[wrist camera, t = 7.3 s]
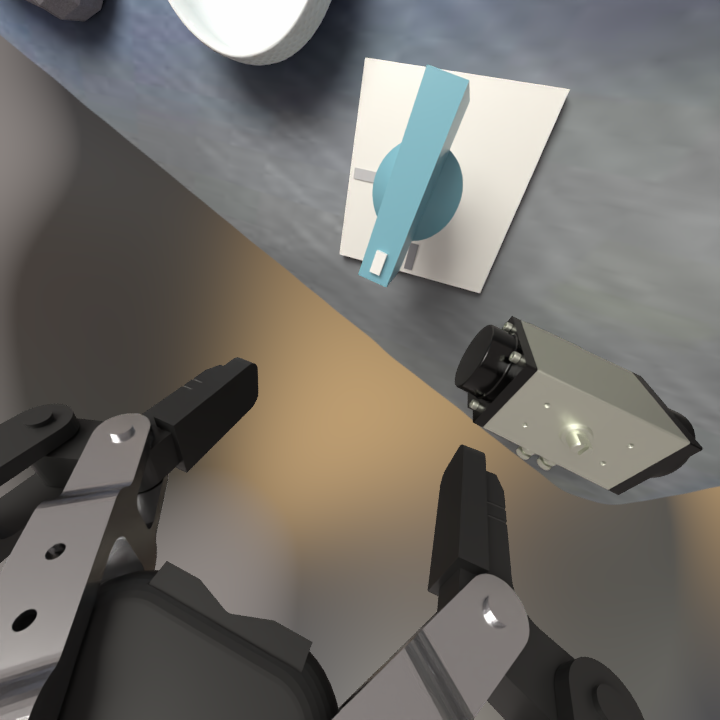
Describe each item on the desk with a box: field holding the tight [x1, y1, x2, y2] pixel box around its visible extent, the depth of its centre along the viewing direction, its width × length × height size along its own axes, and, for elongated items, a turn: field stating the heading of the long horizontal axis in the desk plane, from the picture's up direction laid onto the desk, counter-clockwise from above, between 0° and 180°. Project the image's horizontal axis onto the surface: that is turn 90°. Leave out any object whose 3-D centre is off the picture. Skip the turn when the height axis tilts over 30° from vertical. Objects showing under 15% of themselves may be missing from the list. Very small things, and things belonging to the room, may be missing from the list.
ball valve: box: [455, 316, 702, 495], centre depth 29 cm, size 18×8×18 cm, turn 71°
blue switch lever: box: [358, 64, 470, 287], centre depth 22 cm, size 12×7×8 cm, turn 162°
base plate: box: [340, 58, 570, 293], centre depth 28 cm, size 18×18×8 cm
